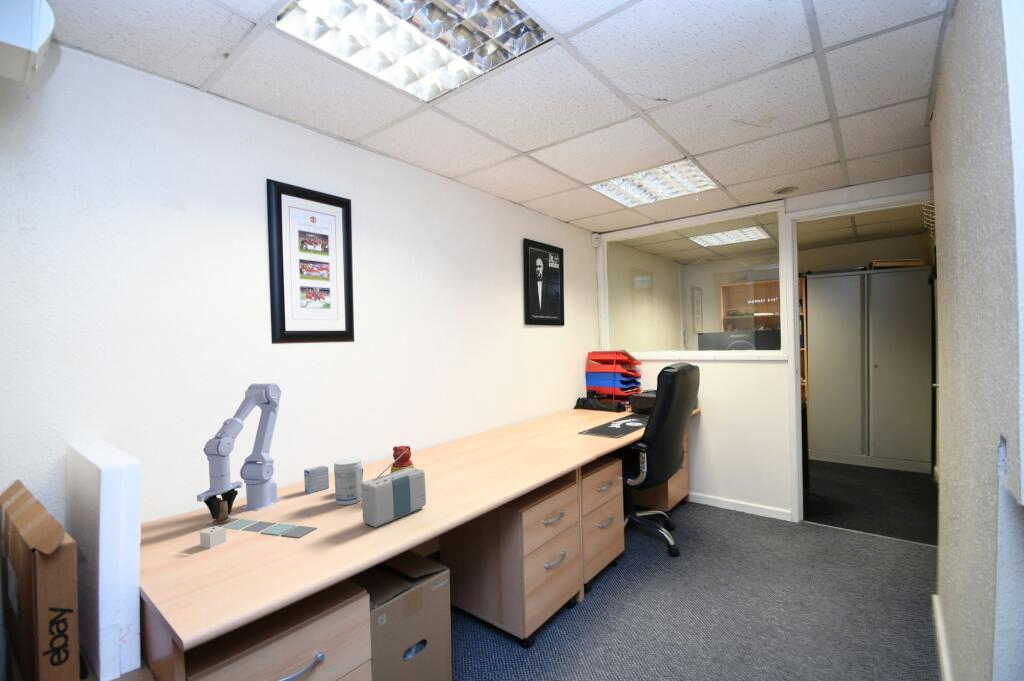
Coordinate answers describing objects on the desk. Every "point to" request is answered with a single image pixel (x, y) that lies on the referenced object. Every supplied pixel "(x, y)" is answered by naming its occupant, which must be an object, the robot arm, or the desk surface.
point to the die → (212, 537)
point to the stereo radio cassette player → (393, 495)
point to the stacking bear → (401, 458)
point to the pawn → (222, 513)
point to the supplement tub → (348, 480)
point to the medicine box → (316, 479)
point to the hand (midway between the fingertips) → (221, 516)
